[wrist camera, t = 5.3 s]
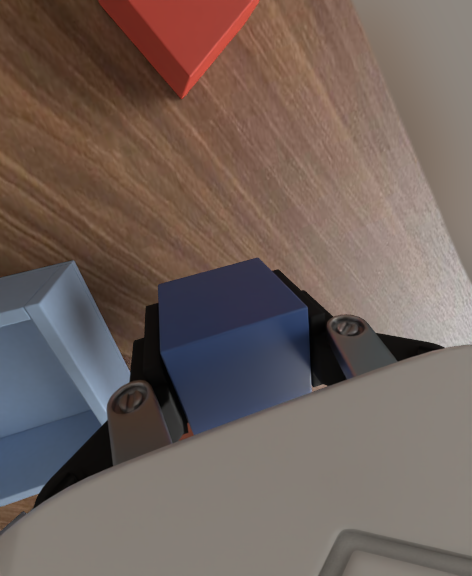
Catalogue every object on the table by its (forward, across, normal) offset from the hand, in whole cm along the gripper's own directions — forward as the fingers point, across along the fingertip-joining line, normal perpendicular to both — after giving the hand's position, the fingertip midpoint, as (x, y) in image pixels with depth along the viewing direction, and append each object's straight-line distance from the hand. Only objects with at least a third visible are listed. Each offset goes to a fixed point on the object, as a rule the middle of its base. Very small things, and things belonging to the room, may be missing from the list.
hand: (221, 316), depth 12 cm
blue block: (0, 0, 0) cm, 0 cm away
